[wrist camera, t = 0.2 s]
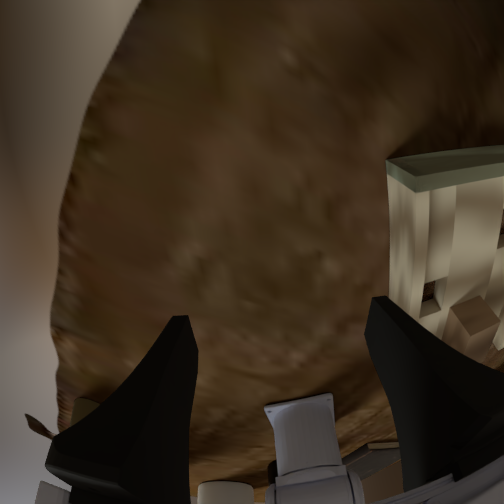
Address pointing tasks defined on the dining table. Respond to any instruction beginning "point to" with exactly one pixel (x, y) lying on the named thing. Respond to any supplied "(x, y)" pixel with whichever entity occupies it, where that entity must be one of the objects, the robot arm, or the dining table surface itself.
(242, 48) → the dining table surface
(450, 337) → the walnut block
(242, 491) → the white lidded jar
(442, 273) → the trap box
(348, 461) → the hardcover book
